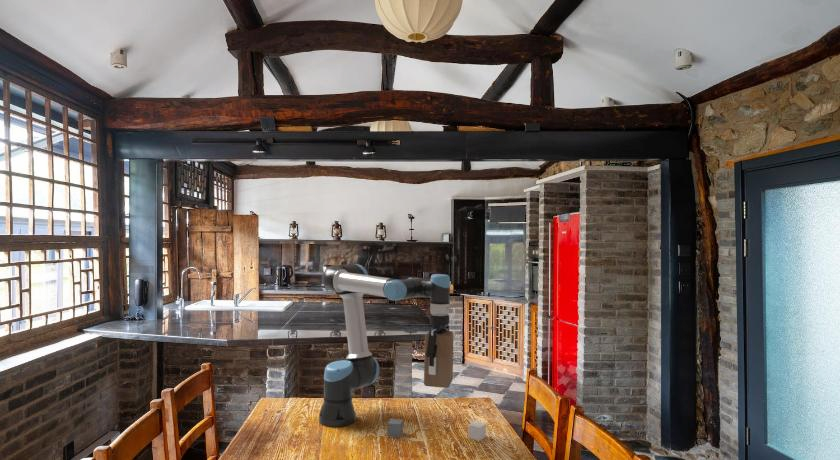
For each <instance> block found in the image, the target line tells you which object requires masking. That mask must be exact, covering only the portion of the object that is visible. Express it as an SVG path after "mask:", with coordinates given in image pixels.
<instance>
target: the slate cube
mask: <svg viewBox="0 0 840 460" xmlns="http://www.w3.org/2000/svg"><path fill="white" fill-rule="evenodd" d="M386 426H387V428H386V431H387V432H386V437H391V438H393V437H394V438H401V437H402V434H403V433H404V432H403V431H404V419H399V418H397V419H396V418H390V419H389V420H388V422H387V425H386Z"/></svg>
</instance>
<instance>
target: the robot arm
mask: <svg viewBox="0 0 840 460" xmlns="http://www.w3.org/2000/svg"><path fill="white" fill-rule="evenodd" d="M321 277H322V278H321V280H322V281H321V282H322V284H323V286H324V288H325V289H326V290H328V291H331V292H335V293H338V295H339V297H340V298H341V299H342V301H343V310H344V319H345V328H346V338H347V348H348V354H347V355H346V357H345V359H342V360H335V361H331V362H329V363H327V365H326V366H325V368H324V372H323V373H324V374H323V402H322V406H321V409H320V412H319V414H318V422H319V424H321V425H323V426H326V427H344V426H348V425H351V424H353V423H355V421H356V419H357V412H356V411H355V406H354V402H353V391H355V390H358V389H361V388H364V387H368V386H370V385H372V384H374V383H375V382H376V381H377V380H378V378H379V375H380V365H379V362H378V361H377V359H375V358H374V357H373V353H372V352H371V351H370V350H369V345H368V336H367V328H366V319H365V317H366V316H365V309H364V308H365V307H364V301H363V296H364V295H370V296H375V297H383V298H386V299H388V300H389V301H396V302H397V301H401V300H407V299H414V298H426V299H430V307H429V308H430V309H429V313H430V315H429V324H430V325H432V327H433V328H432V329H429V330H428V332H429V340H428V346H427V353H426V357H429V374H431V375H436V357H435V355H436V351H437V345H435V342H436V335H437V334H443V332H446V331H450V315H449V314H450V310H451V306H450V305H451V304H450V303H451V302H450V296H451V295H450V293H451V277H450V276H449V274H443V273H442V274H441V273H439V274H438V273H435V274H431V276H430V278H421V277H417V276H416V277H408V278H406V279H397V278H390V277H383V276H375V275H370V274H368V270H367V269H366V268H365V267H364V266H363V265H361V264H357V263H346V264H333V265H329V267H327V268H326V269H325V270H324V271H323V273H322V276H321Z"/></svg>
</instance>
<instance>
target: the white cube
mask: <svg viewBox="0 0 840 460" xmlns="http://www.w3.org/2000/svg"><path fill="white" fill-rule="evenodd" d="M486 437H487V424H486V423H484V422H481V421H478V420H473V421H472V422H471V423H469V424H468V425H467V438H469V439H473V440H476V441H478V442H479V441H482V440H483V439H484V438H486Z"/></svg>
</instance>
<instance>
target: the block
mask: <svg viewBox="0 0 840 460" xmlns="http://www.w3.org/2000/svg"><path fill="white" fill-rule="evenodd" d="M454 338H455V337H454V332H453V331H452V330H449V331H446V332H443V334H437V335H436V342H435V345H437V351H436V355H435V357H436V375H431V374H429V357H426V353H427V346H428V340H429V331H427V332H426V334H425V335H424V358H423V359H424V361H423V363H424V364H423V365H424V366H423V368H424V369H423V383H424V384H423V385H424V386H425V387H431V388H432V387H433V388H445V389H448V388H450V386H451V383H452V381H453V380H454V377H453V376H454V374H453V373H454V371H453V370H454Z"/></svg>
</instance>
